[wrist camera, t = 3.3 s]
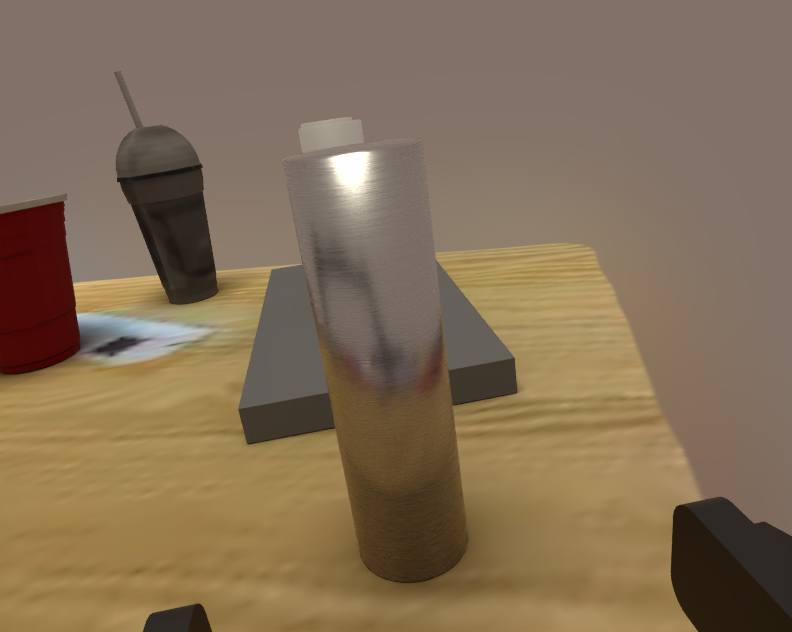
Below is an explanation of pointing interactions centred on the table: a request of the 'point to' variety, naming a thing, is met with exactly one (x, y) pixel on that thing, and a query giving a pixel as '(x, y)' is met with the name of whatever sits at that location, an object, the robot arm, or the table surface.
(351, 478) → the steel pin
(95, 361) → the table surface
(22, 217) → the plastic cup
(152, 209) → the beverage cup
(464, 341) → the pin board
